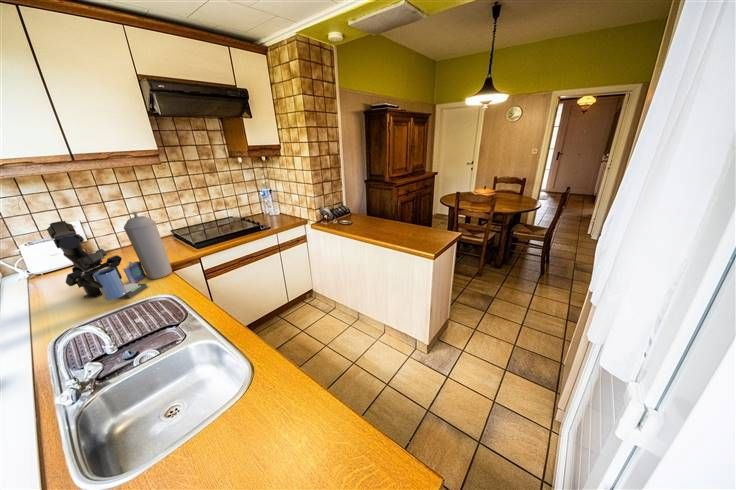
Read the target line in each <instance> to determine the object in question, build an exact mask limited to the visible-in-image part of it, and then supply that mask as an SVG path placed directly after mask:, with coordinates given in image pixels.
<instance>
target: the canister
mask: <svg viewBox="0 0 736 490" xmlns="http://www.w3.org/2000/svg"><path fill="white" fill-rule="evenodd" d="M138 214H139V212H138V211H135V212H132V213H131V215H133V217H130V218H129V219H127V220H126V223H125V224H124V225H123V230H124V232H125V234H126V236H127V237H128V240H129V243H130V244H131V246H132V248H133V250H134V252H135V255H136V257H137V258H138V261H140V263H141V265H142V268H143V270H144V272H145V275H146V277H147V278H148V279H149V280H157V279H158V280H159V279H161V278H165V277H166V276H169V275H170V274H171V273H172V272H173V268H172V266H171V262H170V260H169V257H168V254H167V251H166V248H165V245H164V243H163V240H162V237H161V234H160V232H159V228H158V226H157V223H156V222H157V221H155V220H154V219H152V218H150V217H148V216H145V215H141V216H138Z"/></svg>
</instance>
